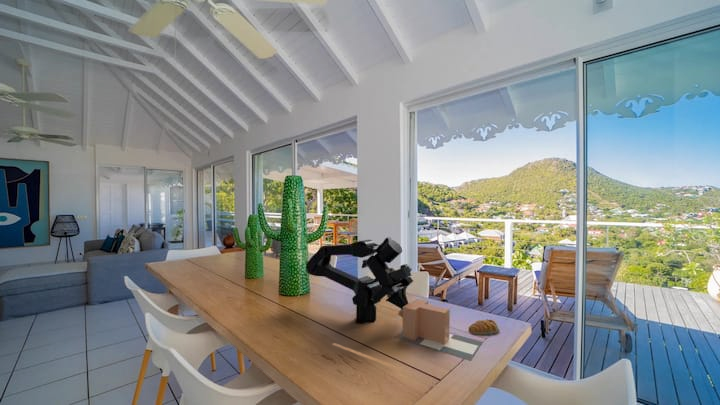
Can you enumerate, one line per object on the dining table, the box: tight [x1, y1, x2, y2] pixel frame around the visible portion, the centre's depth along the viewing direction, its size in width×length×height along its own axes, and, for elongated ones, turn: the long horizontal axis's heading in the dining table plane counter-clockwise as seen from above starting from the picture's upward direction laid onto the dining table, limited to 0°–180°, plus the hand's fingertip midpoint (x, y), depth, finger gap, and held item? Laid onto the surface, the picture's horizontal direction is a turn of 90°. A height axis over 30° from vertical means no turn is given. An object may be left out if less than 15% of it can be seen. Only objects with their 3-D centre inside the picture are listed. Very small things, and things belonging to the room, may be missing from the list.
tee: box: [401, 298, 451, 344], centre depth 89 cm, size 12×10×9 cm
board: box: [394, 330, 484, 362], centre depth 87 cm, size 22×13×1 cm, turn 54°
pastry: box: [468, 319, 501, 336], centre depth 93 cm, size 9×7×4 cm
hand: (409, 311), depth 92 cm, fingers closed, pressing on tee
